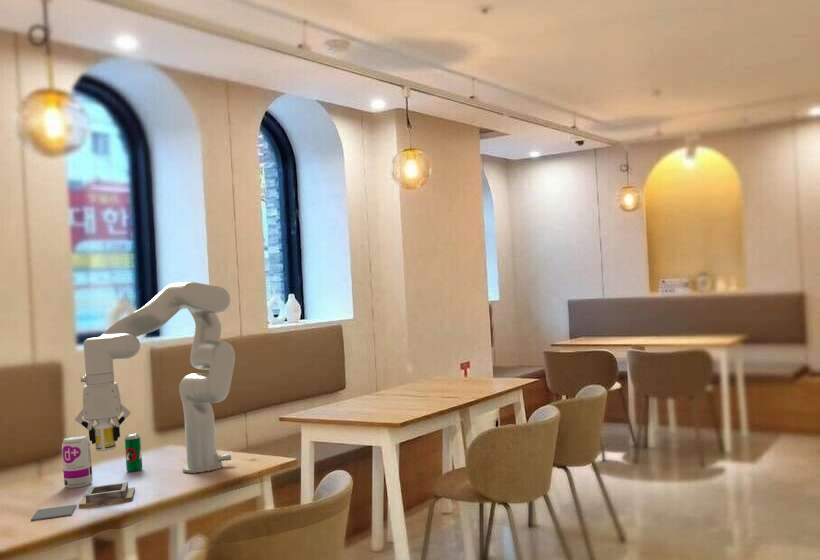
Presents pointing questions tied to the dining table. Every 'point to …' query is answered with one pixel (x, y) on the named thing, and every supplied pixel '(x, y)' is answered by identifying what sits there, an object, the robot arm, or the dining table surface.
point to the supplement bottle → (104, 435)
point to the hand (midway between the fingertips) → (105, 441)
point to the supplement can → (77, 461)
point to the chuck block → (107, 494)
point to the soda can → (133, 453)
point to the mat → (54, 512)
